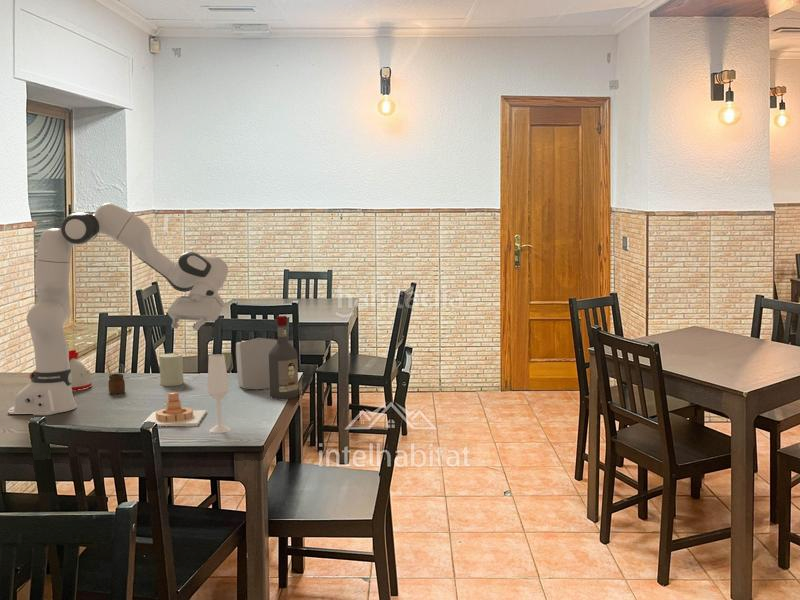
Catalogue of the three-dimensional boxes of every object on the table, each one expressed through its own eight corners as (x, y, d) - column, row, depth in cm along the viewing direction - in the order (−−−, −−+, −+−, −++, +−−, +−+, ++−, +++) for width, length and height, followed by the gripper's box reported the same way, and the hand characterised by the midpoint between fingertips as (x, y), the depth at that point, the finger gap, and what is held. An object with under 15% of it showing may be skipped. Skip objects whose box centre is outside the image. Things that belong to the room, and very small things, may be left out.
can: (188, 382, 359) (187, 353, 358) (171, 386, 351) (170, 356, 350) (172, 380, 364) (171, 351, 363) (155, 384, 356) (153, 354, 355)
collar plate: (141, 427, 288) (140, 418, 288) (153, 414, 306) (153, 405, 306) (197, 426, 289) (197, 417, 289) (206, 412, 307) (206, 404, 307)
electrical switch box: (272, 386, 359) (269, 336, 360) (280, 387, 345) (277, 336, 346) (236, 389, 354) (232, 339, 355) (243, 391, 340) (239, 339, 341)
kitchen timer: (98, 384, 358) (96, 347, 357) (80, 392, 345) (78, 353, 343) (66, 384, 361) (64, 347, 359) (47, 391, 347) (44, 353, 346)
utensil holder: (125, 393, 340) (123, 362, 339) (107, 395, 338) (106, 363, 337) (125, 390, 346) (123, 360, 344) (108, 392, 344) (106, 361, 342)
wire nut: (164, 419, 295) (163, 395, 294) (168, 415, 300) (167, 392, 299) (180, 418, 295) (179, 395, 294) (183, 414, 300) (182, 391, 299)
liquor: (266, 397, 330) (264, 316, 327) (286, 392, 337) (283, 314, 333) (282, 400, 324) (280, 318, 320) (301, 396, 330) (299, 315, 327)
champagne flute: (211, 427, 287) (208, 353, 284) (232, 427, 287) (229, 353, 284) (206, 433, 281) (203, 357, 278) (227, 432, 280) (224, 357, 278)
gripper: (174, 290, 319) (156, 321, 311) (220, 292, 310) (202, 324, 302) (183, 301, 323) (165, 332, 316) (228, 304, 314) (211, 335, 306)
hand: (184, 328), depth 309 cm, fingers open, 8 cm apart
